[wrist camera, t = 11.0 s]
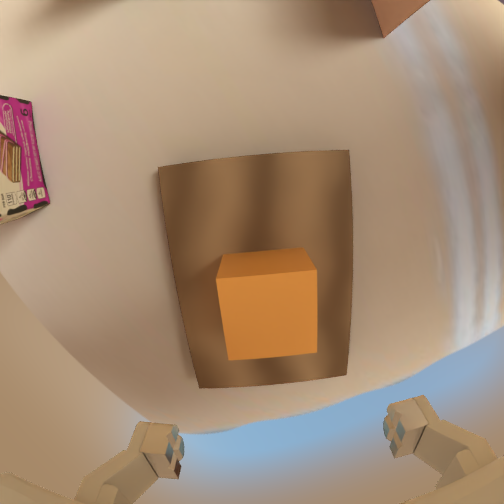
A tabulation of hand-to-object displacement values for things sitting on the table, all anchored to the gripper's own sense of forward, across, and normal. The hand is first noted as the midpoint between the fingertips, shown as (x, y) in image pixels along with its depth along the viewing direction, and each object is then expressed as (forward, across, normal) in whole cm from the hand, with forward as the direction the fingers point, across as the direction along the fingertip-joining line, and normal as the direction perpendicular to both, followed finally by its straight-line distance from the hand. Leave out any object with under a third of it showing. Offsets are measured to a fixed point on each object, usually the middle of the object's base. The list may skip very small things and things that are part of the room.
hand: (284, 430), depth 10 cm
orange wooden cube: (+14, 0, 0) cm, 14 cm away
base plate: (+16, 0, 0) cm, 16 cm away
